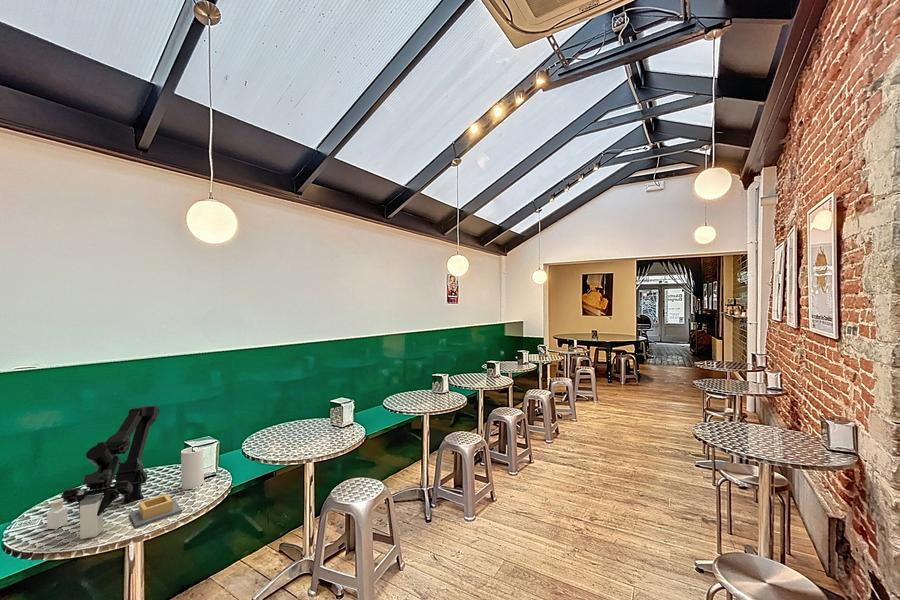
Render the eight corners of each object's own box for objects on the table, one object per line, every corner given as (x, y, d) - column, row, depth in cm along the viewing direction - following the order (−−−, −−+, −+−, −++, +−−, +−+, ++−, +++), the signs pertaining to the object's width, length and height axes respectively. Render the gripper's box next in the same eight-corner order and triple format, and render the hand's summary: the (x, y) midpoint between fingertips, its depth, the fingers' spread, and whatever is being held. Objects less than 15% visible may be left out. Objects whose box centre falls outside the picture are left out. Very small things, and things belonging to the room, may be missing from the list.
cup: (208, 482, 173) (207, 446, 173) (190, 491, 165) (190, 453, 165) (195, 480, 175) (194, 445, 176) (177, 488, 168) (176, 451, 168)
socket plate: (129, 514, 147) (129, 503, 147) (173, 500, 157) (173, 489, 157) (135, 528, 137) (135, 515, 137) (182, 512, 147) (182, 500, 147)
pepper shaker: (68, 523, 142) (68, 497, 142) (57, 530, 138) (57, 503, 138) (57, 524, 142) (56, 498, 142) (46, 530, 138) (45, 503, 138)
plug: (87, 532, 135) (87, 496, 135) (103, 529, 136) (102, 493, 136) (80, 539, 130) (79, 502, 131) (96, 536, 132) (95, 499, 132)
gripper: (64, 466, 134) (42, 513, 124) (129, 457, 140) (114, 502, 130) (77, 479, 142) (58, 525, 131) (138, 471, 148) (125, 514, 137)
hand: (89, 516), depth 132 cm, fingers closed on plug, 4 cm apart
